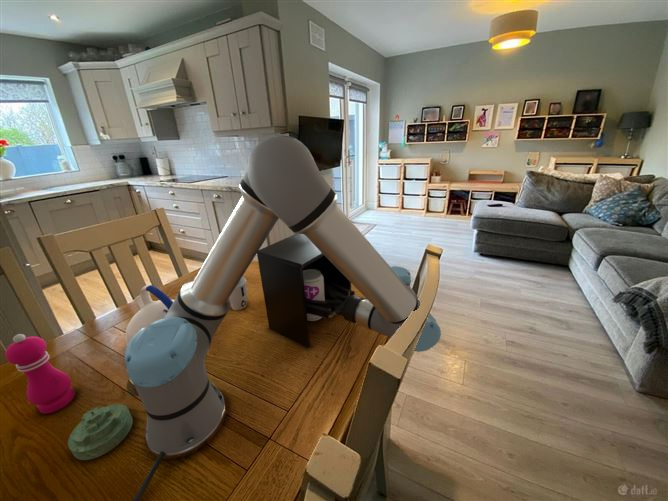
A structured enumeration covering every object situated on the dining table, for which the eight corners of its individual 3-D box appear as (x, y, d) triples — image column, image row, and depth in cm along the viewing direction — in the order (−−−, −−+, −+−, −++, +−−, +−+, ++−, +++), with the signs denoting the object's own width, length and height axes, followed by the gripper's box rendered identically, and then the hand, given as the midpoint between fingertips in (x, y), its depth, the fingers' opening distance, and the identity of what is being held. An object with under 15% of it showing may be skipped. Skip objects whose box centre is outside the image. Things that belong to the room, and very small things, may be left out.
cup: (246, 312, 96) (241, 287, 92) (223, 312, 96) (217, 288, 93) (253, 299, 104) (249, 276, 100) (232, 300, 104) (227, 276, 100)
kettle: (178, 310, 99) (164, 265, 92) (215, 327, 89) (203, 278, 82) (114, 345, 83) (91, 294, 76) (151, 371, 73) (128, 315, 66)
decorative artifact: (60, 452, 55) (97, 466, 52) (44, 429, 52) (82, 442, 49) (110, 408, 64) (143, 417, 61) (98, 385, 61) (133, 395, 58)
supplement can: (322, 323, 87) (319, 281, 81) (297, 320, 88) (293, 279, 82) (328, 308, 94) (325, 269, 88) (305, 306, 96) (301, 267, 90)
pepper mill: (74, 384, 70) (38, 320, 63) (81, 399, 66) (43, 332, 58) (35, 404, 65) (-10, 337, 57) (39, 422, 61) (-9, 352, 53)
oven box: (354, 307, 96) (353, 235, 86) (310, 349, 78) (302, 264, 68) (316, 294, 105) (311, 227, 95) (269, 328, 87) (256, 250, 77)
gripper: (340, 343, 72) (278, 315, 84) (377, 304, 88) (320, 285, 100) (339, 320, 69) (275, 294, 81) (377, 284, 85) (319, 267, 97)
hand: (300, 289), depth 91 cm, fingers closed on supplement can, 8 cm apart
